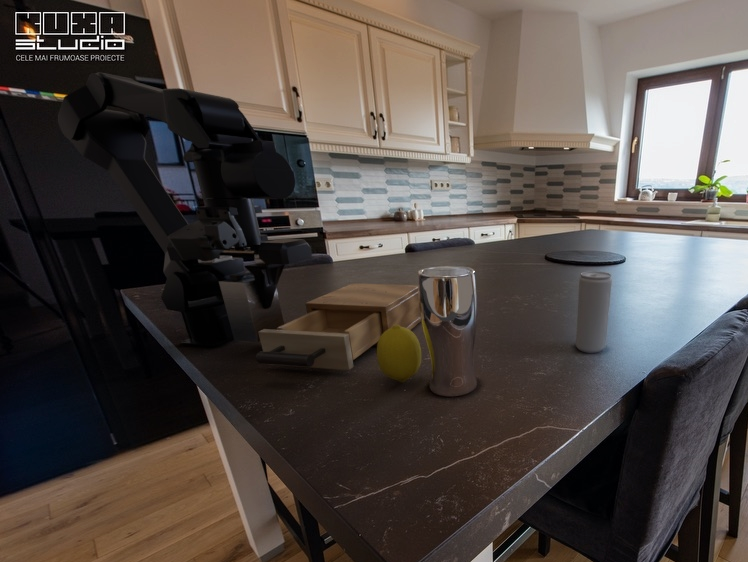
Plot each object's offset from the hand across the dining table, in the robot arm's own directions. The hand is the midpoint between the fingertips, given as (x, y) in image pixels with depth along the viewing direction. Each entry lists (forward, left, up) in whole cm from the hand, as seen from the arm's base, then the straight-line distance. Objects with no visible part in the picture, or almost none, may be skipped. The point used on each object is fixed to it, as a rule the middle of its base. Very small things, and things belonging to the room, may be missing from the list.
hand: (254, 307), depth 60 cm
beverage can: (+51, +9, -7) cm, 52 cm away
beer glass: (+33, -7, -7) cm, 35 cm away
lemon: (+26, -7, -7) cm, 28 cm away
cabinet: (+12, +12, -7) cm, 18 cm away
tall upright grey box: (0, 0, -4) cm, 4 cm away
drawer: (+12, -2, -6) cm, 14 cm away
